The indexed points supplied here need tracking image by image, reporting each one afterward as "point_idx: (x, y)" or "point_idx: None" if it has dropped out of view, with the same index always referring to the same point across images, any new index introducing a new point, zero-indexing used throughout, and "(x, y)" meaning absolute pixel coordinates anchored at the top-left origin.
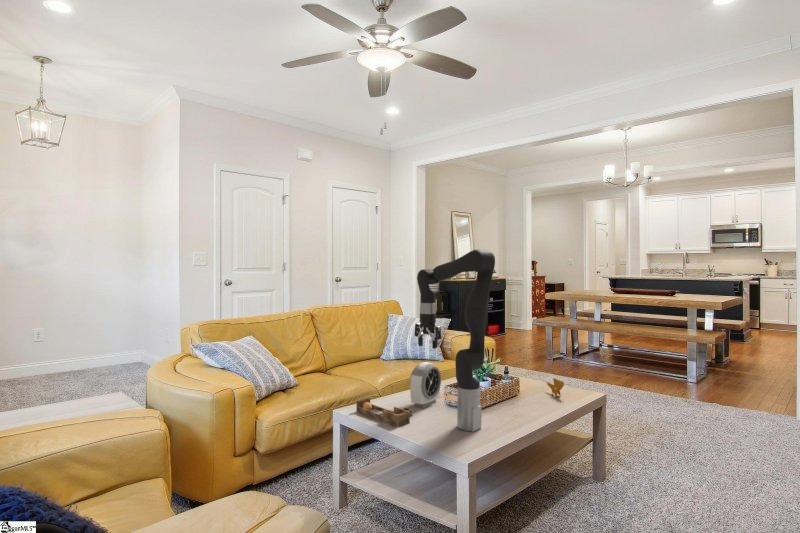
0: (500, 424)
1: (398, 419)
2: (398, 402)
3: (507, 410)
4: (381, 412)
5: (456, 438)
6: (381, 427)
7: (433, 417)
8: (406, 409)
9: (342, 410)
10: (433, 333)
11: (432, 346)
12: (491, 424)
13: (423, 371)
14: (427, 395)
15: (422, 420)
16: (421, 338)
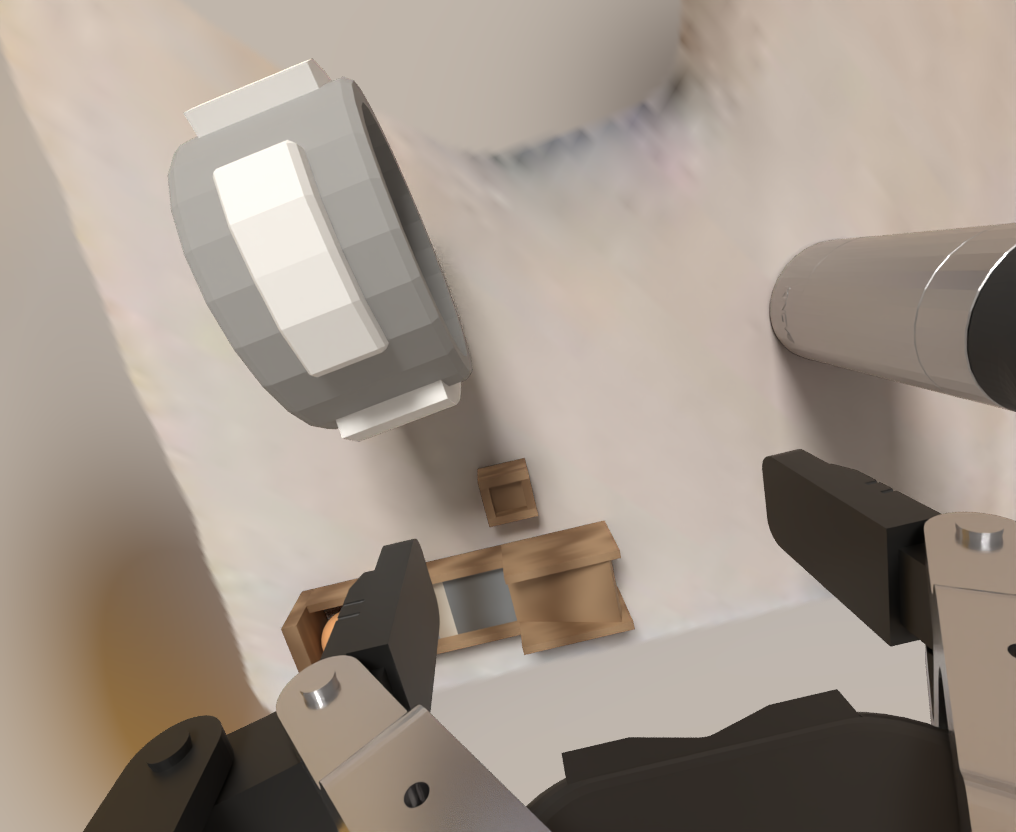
0: (917, 99)
1: (627, 611)
2: (279, 403)
3: None
4: (441, 596)
5: (876, 441)
6: (576, 647)
7: (606, 371)
8: (493, 484)
9: None
10: (960, 684)
11: (796, 560)
12: (881, 150)
13: (402, 356)
14: (456, 314)
15: (609, 447)
16: (405, 686)
